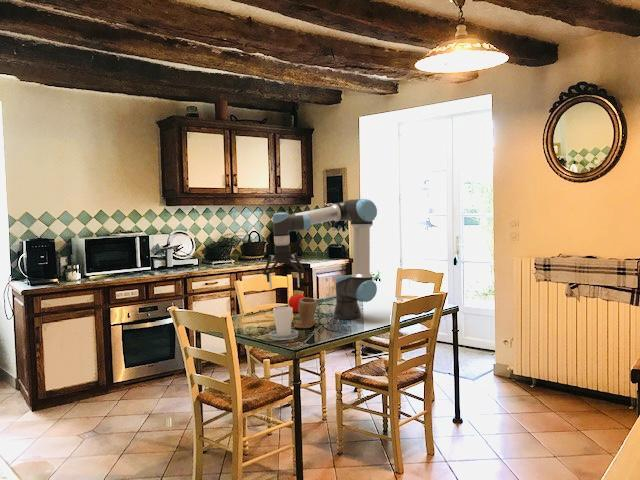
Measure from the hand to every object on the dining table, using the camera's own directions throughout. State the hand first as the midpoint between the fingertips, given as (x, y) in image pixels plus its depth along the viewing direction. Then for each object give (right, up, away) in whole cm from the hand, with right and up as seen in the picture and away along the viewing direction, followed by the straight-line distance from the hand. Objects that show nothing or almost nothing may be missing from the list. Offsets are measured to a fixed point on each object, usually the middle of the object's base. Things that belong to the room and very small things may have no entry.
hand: (284, 287), depth 277 cm
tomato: (+4, -19, +58) cm, 61 cm away
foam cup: (0, -23, -2) cm, 23 cm away
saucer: (0, -23, -2) cm, 23 cm away
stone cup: (+11, -22, +18) cm, 30 cm away
